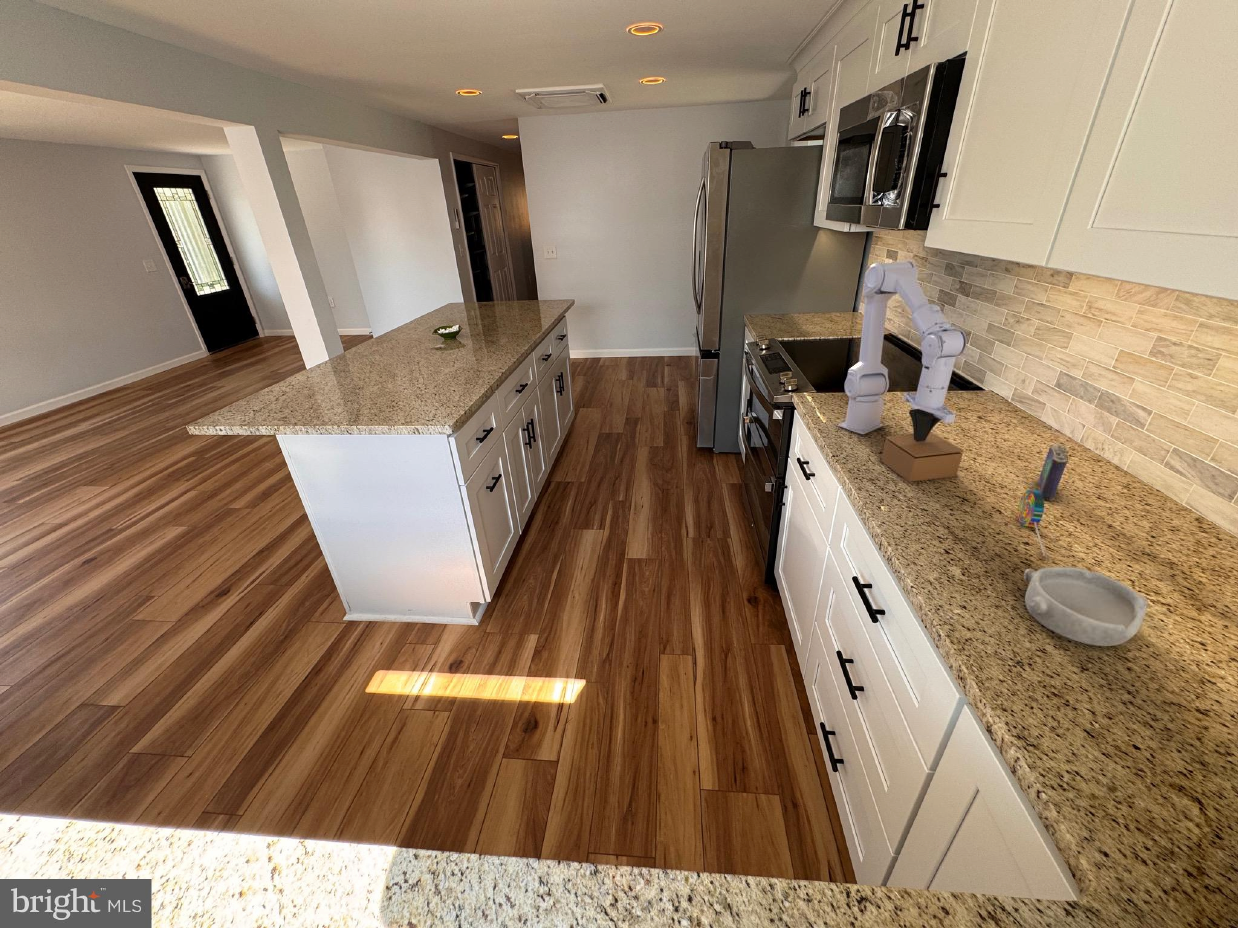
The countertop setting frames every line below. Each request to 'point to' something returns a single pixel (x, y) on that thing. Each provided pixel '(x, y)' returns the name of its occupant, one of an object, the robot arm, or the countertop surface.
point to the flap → (909, 439)
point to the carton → (923, 460)
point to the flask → (1052, 471)
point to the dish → (1084, 605)
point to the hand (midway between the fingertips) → (919, 439)
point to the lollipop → (1031, 510)
